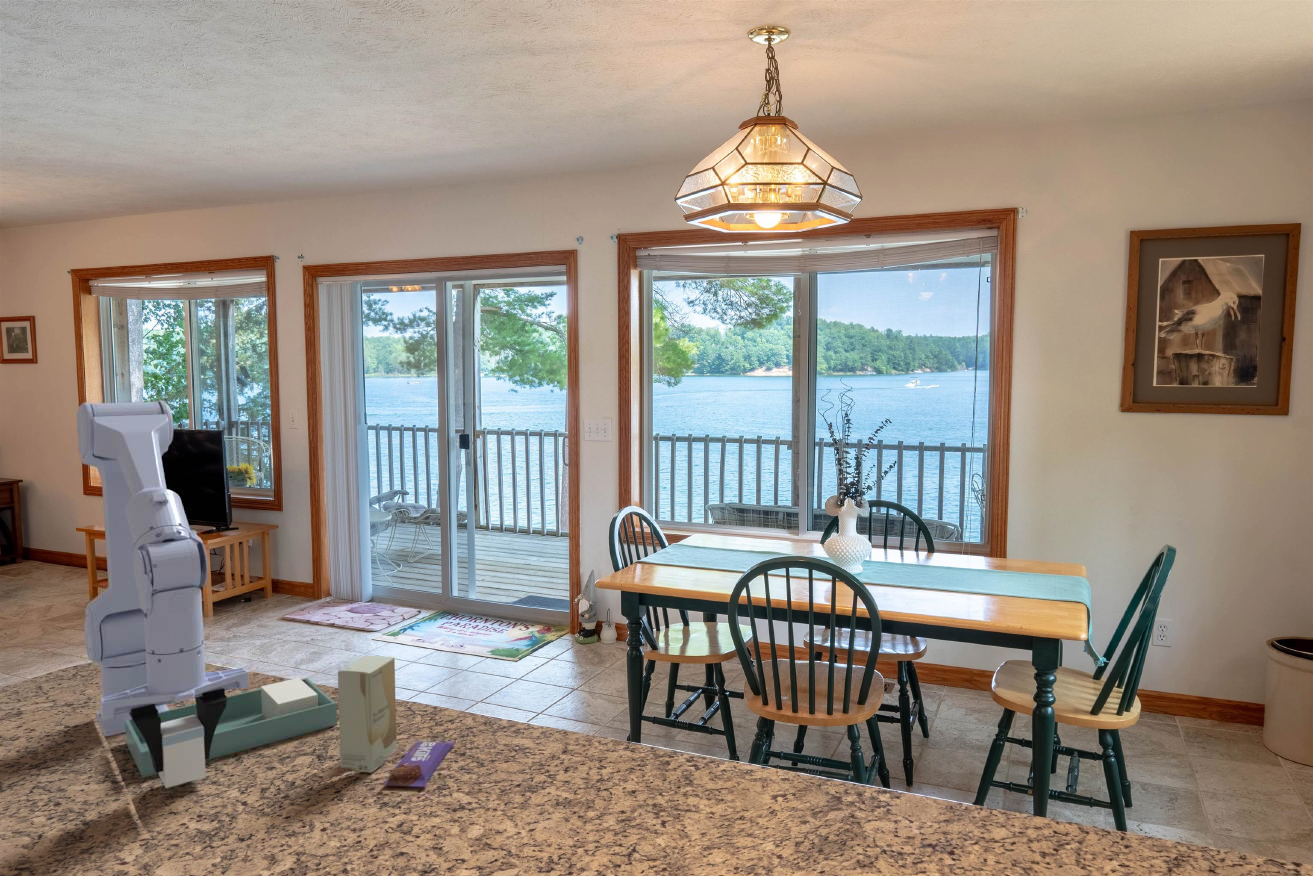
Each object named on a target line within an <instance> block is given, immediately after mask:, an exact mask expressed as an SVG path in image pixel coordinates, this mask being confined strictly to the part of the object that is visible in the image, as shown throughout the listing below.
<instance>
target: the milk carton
mask: <svg viewBox="0 0 1313 876" xmlns="http://www.w3.org/2000/svg"><path fill="white" fill-rule="evenodd" d="M161 751H162V758H163V771H162V772H159V774H158V776H159V778H160V779H161V781H162V784H163V785H164V787H165V789H168V788H171V787H176V786H178V785H182V784H186V783H188V782H192V781H196V780H201V779H203V778H206V776H207V773H206V772H207V771H206V770H207V769H206V761H205V751H204V727H203V725H202V724H201V722H200V721H199V719H198V718H197V717H196V715H192V716H188V717H184V718H180V719H175V720H171V721H167V722H163V723H161Z"/></svg>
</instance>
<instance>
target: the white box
mask: <svg viewBox="0 0 1313 876" xmlns="http://www.w3.org/2000/svg"><path fill="white" fill-rule="evenodd" d="M260 689H261V699H262V715H263V716H264V717H265V718H266V719H270V718H274V717H278V716H282V715H286V714H290V713H294V712H298V711H302V710H306V709H310V708H314V707H318V694H317V693H316V692H314V691H313V690H312V689H311V688H310V687H309V686H308V685H306V684H305V683H304V682H303V681H302V680H301V678H300V677H297V678H292V679H288V680H284V681H278V682H275V683H270V684H266V685H261V686H260Z"/></svg>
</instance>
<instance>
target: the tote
mask: <svg viewBox="0 0 1313 876" xmlns="http://www.w3.org/2000/svg"><path fill="white" fill-rule="evenodd" d="M300 679H301V678H300ZM301 680H302V681H303V682H304V683H305V684H306V685H308V686H309V687H310V688H311V689H312V690H313V691H314V692H316V693H317V694H318V707H314V708H310V709H306V710H302V711H298V712H294V713H290V714H286V715H282V716H278V717H274V718H270V719H266V718H265V717H264V716H263V715H262V699H261V688H257V689H253V690H249V691H248V690H247V691H245V692H240V693H236V694H232V695H226V696H227V705H226V708H225V710H224V711H223V713H222V715H221V717H220V719H219V722H218V724H217V727H216V730H215V733H214V736H213V739H212V744H211V748H210V755H209V759H206V760H205V762H207V761H210V760H215V759H217V758H221V757H225V756H228V755H232V754H236V753H239V752H243V751H247V750H250V749H254V748H258V747H262V746H265V745H269V744H272V743H277V742H280V741H283V740H287V739H291V738H296V737H298V736H302V735H305V734H311V733H313V732H317V731H321V730H324V729H328V728H332V727H336V726H337V725H338V717H337V713H338V712H337V702H336V701H335V700H333V699H332V698H331V697H330V696H329V695H328V694H327V693H325V692H324V691H323V690H322V689H320V688H319V687H318V686H317V685H316V684H315V683H314V682H312V681H311V680H310V679H309V678H308V677H305V678H302V679H301ZM158 715H159V717H160V718H161V723H163V722H167V721H171V720H175V719H180V718H184V717H188V716H192V715H196V717H197V709H196V703H193V704H188V705H183V706H180V707H175V708H172V709H169V710H166V711H162V712H158ZM125 731H126V732H125V742H126V745H127V748H128V750H129V752H130V755H131V756H132V758H133V761H134V763H135V765H136V767H137V769H138V771H139V774H140V775H141V777H142V779H144V778H147V777H152V776H155V775H159V772H158V773H156V772H155V770H154V768H153V763H152V759H151V755H150V752H149V749H148V746H147V744H146V741H145V739H144V737H143V735H142V734H141V732H140V731H139V729H138V728H137V726H136V725H135V723H134V722H133V720H132V719H127V720H125Z"/></svg>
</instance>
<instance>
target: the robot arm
mask: <svg viewBox="0 0 1313 876" xmlns="http://www.w3.org/2000/svg"><path fill="white" fill-rule="evenodd" d="M76 429H77V441H78V442H77V443H78V455H79V458H80V459H81V463H82V464H84V465H86V466H91V467H95V468H96V470H97V471H98V474H99V477H100V480H101V487H102V488H101V489H102V490H101V491H102V501H103V502H102V504H103V519H104V534H105V551H106V565H107V566H106V567H107V581H108V584H107V585H108V587H106V588H105V590H104V591H102V592H101V593H100V594H98V595H97V596H96V597H94V598H93V599H92V600H91V601H89V603H88V604H87V605H86V608H85V609H84V611H85V612H84V613H85V615H84V616H85V621H84V629H83V631H84V644H85V650H86V655H87V658H88V660H89V661H91V662H92V663H93V664H98V663H99V665H100V676H101V677H100V678H101V679H100V680H101V694H102V696H101V697H100V698H99V702H100V703H99V704H100V705H99V706H100V708H99V709H100V711H99V712H97V713H95V718H96V719H97V722H98V725H99V727H100V730H101V732H102V734H103V737H104V738H106V737H109V736H114V735H118V734H124V733H126V731H125V720H127V719H132V720H133V722H134V723H135V725H136V726H137V728H138V729H139V731H140V732H141V734H142V735H143V737H144V739H145V741H146V744H147V746H148V749H149V752H150V755H151V759H152V763H153V768H154V770H155V772H156V773H158V772H162V771H163V758H162V751H161V718H160V717H159V715H158V712H162V711H166V710H170V709H169V707H168V706H167V705H169V704H173V703H180V702H183V701H188V700H193V699H194V701H195V704H196V709H197V718H198V719H199V721H200V722H201V724H202V725H203V727H204V751H205V760H206V759H209V755H210V748H211V744H212V739H213V736H214V733H215V730H216V727H217V724H218V722H219V719H220V717H221V715H222V713H223V711H224V710H225V708H226V705H227V696H228V695H226V691H231V690H234V689H239V690H244V689H248V688H250V678H249V671H248V670H247V668H245V667H239V668H232V669H225V670H224V669H223V670H216V671H209V672H206V660H205V642H204V641H205V640H204V639H205V638H204V637H205V636H204V622H203V621H204V617H203V600H202V599H203V597H202V596H203V595H202V589H201V588H200V587H202V588H204V587H205V586H206V584H207V581H208V575H209V574H208V572H209V571H208V570H209V569H208V558H207V557H208V556H207V552H206V548H205V545H204V543H203V540H202V538H201V537H200V536H198V535H197V532H196V530H191V529H190V525H189V521H188V519H187V515H186V513H185V510H184V509H185V508H184V505H183V503H182V499H181V497H180V496H179V494H178V493H176V492H175V491H173V490H171V489H168V488H167V484H166V479H165V472H164V467H163V466H164V465H163V459H162V456H163V455H164V453H166V452H168V450H169V446H170V445H171V444H172V441H173V440H174V419H173V413H172V410H171V407H170V405H169V404H168V403H166V401H164V400H162V399H161V400H157V401H140V402H139V401H138V402H105V403H104V402H98V403H96V402H94V403H90V402H87V401H86V402H82V404H81V405H80V406H79V407H78V408H77V414H76ZM199 586H200V587H199Z"/></svg>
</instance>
